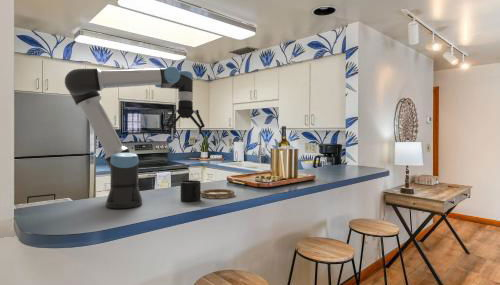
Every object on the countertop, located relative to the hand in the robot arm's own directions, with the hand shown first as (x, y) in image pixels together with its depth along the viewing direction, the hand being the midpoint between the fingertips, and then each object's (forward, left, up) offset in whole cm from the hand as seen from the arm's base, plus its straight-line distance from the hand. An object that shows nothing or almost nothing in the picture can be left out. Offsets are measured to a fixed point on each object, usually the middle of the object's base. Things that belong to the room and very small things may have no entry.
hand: (185, 140), depth 164 cm
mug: (+2, -19, -29) cm, 34 cm away
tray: (+16, -8, -29) cm, 34 cm away
